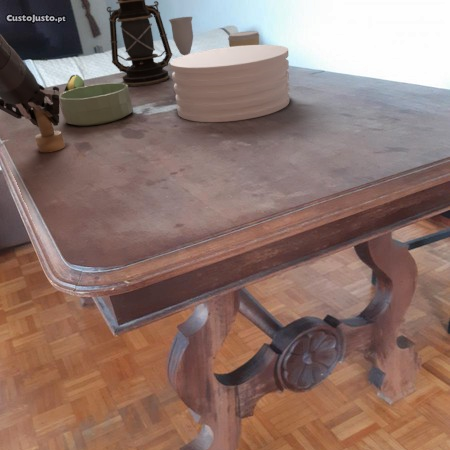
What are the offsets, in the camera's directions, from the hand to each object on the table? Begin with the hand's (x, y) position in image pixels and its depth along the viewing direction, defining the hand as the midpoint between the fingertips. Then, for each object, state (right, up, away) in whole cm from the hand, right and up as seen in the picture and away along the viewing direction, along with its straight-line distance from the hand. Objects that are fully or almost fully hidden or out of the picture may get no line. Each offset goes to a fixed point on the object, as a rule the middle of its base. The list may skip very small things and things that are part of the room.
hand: (48, 122), depth 103 cm
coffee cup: (+45, +30, +44) cm, 70 cm away
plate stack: (+41, +10, +16) cm, 45 cm away
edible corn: (-10, +28, +50) cm, 58 cm away
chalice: (+28, +26, +41) cm, 56 cm away
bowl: (+6, +9, +21) cm, 23 cm away
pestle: (0, -5, +1) cm, 5 cm away
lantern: (+12, +35, +57) cm, 68 cm away
